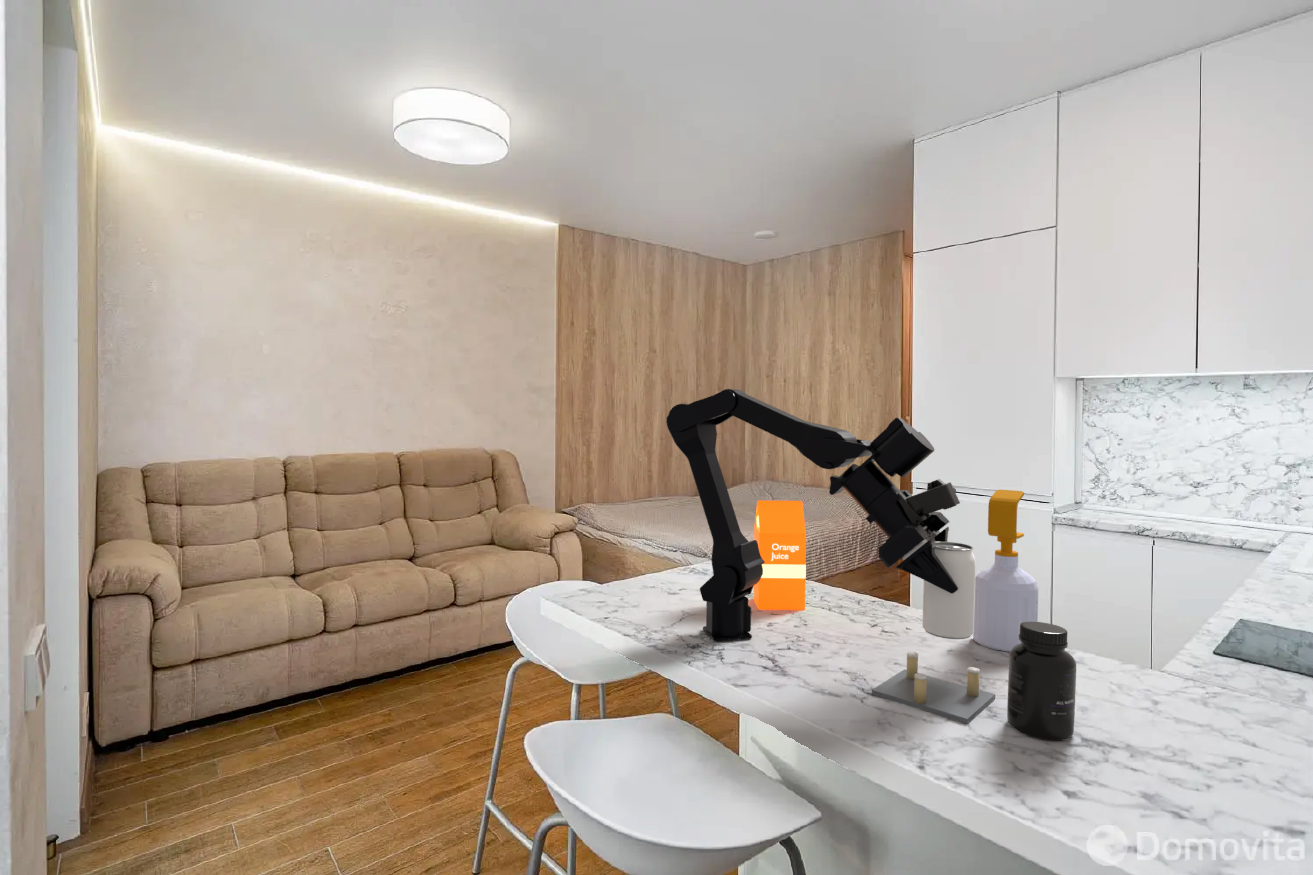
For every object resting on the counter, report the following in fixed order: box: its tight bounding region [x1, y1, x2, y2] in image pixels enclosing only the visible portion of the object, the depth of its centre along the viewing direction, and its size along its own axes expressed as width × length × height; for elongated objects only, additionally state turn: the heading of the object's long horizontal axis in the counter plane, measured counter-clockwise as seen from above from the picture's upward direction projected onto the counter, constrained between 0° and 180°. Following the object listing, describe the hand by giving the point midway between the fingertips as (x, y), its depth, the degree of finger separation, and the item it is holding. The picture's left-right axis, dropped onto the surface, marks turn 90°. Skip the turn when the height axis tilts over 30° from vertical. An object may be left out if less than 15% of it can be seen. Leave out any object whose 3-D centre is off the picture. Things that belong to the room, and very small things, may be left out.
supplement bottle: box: [1006, 621, 1077, 742], centre depth 79 cm, size 7×7×12 cm
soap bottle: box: [972, 489, 1039, 653], centre depth 108 cm, size 9×9×25 cm
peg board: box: [871, 651, 996, 725], centre depth 88 cm, size 12×10×4 cm
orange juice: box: [752, 500, 807, 611], centre depth 130 cm, size 8×9×20 cm
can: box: [922, 541, 977, 640], centre depth 93 cm, size 6×6×12 cm
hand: (959, 586), depth 92 cm, fingers closed on can, 6 cm apart
